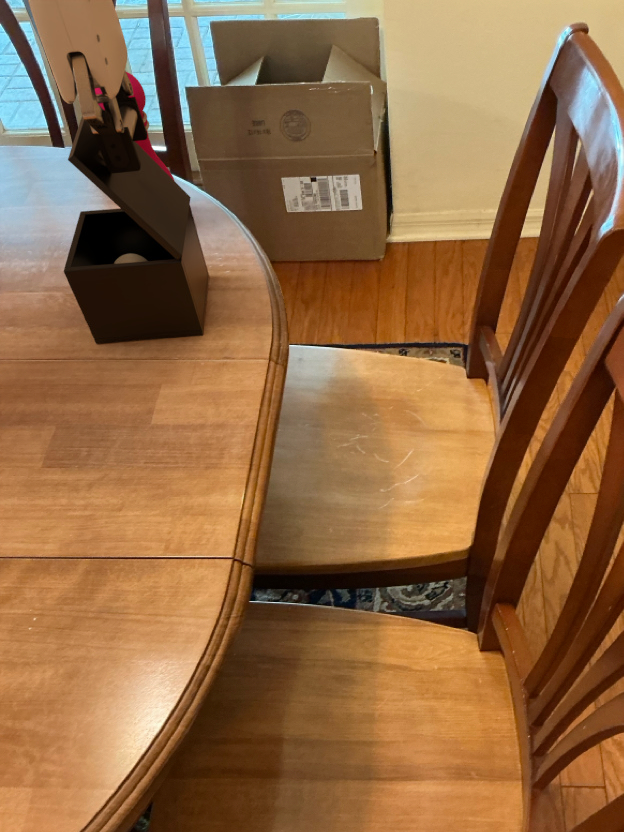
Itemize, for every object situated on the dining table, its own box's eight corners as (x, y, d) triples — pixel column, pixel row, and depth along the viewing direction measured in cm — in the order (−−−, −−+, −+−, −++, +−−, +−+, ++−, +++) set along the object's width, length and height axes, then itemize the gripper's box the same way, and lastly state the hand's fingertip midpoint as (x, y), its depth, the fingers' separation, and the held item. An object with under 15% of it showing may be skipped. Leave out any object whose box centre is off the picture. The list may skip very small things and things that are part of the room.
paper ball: (106, 285, 88) (105, 246, 89) (120, 304, 93) (119, 267, 94) (148, 283, 89) (147, 244, 89) (160, 302, 93) (159, 265, 94)
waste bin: (95, 344, 89) (63, 271, 81) (109, 283, 95) (80, 211, 88) (203, 335, 89) (181, 262, 81) (209, 275, 96) (189, 202, 88)
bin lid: (67, 159, 72) (101, 128, 70) (86, 102, 78) (117, 72, 76) (177, 260, 81) (210, 235, 79) (185, 201, 88) (216, 176, 86)
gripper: (25, -95, 67) (104, 117, 82) (-20, -18, 58) (78, 206, 73) (110, -104, 67) (173, 109, 82) (79, -29, 58) (157, 198, 73)
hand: (128, 153), depth 77 cm, fingers closed on bin lid, 5 cm apart
